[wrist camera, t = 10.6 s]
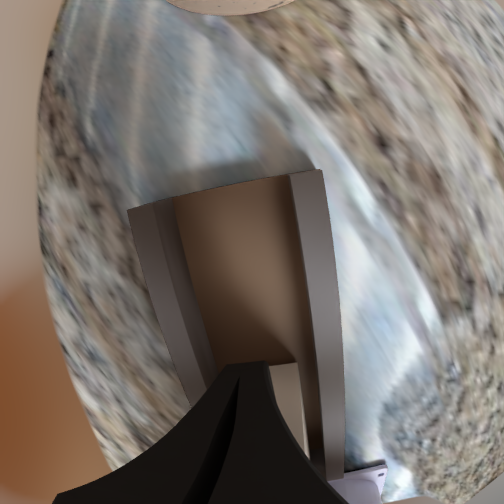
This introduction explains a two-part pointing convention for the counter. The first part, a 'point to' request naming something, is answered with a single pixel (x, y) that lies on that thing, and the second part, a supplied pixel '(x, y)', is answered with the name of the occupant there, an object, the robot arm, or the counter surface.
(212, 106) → the counter surface
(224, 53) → the counter surface
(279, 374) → the beige rectangular block
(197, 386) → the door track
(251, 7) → the teacup with lid
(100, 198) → the counter surface
